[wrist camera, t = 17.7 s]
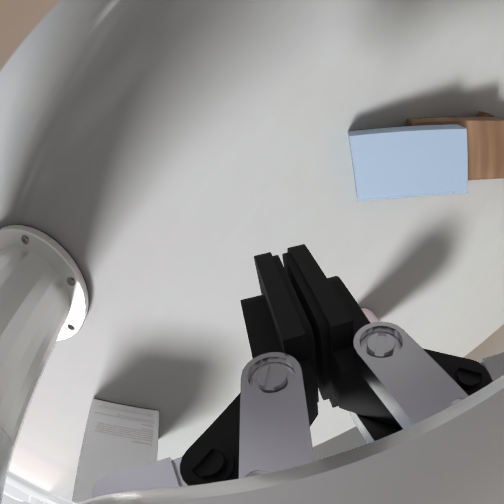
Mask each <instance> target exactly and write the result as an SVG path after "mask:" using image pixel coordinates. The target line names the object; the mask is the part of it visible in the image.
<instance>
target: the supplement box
mask: <svg viewBox="0 0 504 504" xmlns="http://www.w3.org/2000/svg"><path fill="white" fill-rule="evenodd" d="M158 430H159V411H156V410H149V409H143V408H137V407H131V406H126V405H121V404H116V403H111V402H106V401H101V400H97V399H92V403H91V407H90V412H89V416H88V420H87V424H86V429H85V433H84V438H83V443H82V448H81V453H80V458H79V463H78V469H77V475H76V480H75V486H74V493H73V499H72V501H73V503H74V504H78V503H81V502H83V501H86V500H89V499H92V490H93V487H94V485H95V483H96V482H97V481H98V480H99V479H100V478H101V477H102V476H105V475H107V474H110V473H114V472H119V471H123V470H127V469H131V468H135V467H138V466H142V465H146V464H149V463H153V462H156V461H157V451H158Z"/></svg>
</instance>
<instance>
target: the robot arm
mask: <svg viewBox="0 0 504 504" xmlns="http://www.w3.org/2000/svg"><path fill="white" fill-rule="evenodd" d="M254 260H255V265H256V269H257V274H258V279H259V284H260V289H261V293H262V295H260V296H256V297H252V298H248V299H244V300H241V305H242V310H243V315H244V319H245V324H246V329H247V333H248V338H249V343H250V347H251V352H252V356H253V359H252V360H251V361H250V362H248V363H247V364H246V366H245V367H244V369H243V371H242V375H241V393H240V394H239V395H238V396H237V397H236V398H235V399H234V400H233V402H232V403H231V404H230V405H229V406H228V407H227V408H226V409H225V410H224V412H223V413H222V414H221V415H220V416H219V417H218V418H217V419H216V420H215V421H214V422H213V424H212V425H211V426H210V427H209V428H208V429H207V430H206V431H205V432H204V433H203V434H202V435H201V436H200V437H199V438H198V439H197V440H196V441H195V442H194V444H193V445H192V446H191V447H190V448H189V449H188V450H187V451H186V452H185V454H184V455H183V457H180V458H177V459H174V460H172V459H171V458H170V457H169V458H166V459H163V460H160V461H156V462H153V463H149V464H146V465H142V466H138V467H135V468H131V469H127V470H123V471H119V472H114V473H110V474H107V475H105V476H102V477H101V478H100V479H99V480H98V481H97V482H96V483H95V485H94V487H93V490H92V499H89V500H86V501H83V502H81V503H78V504H504V352H503V353H500V354H497V355H494V356H490V357H487V358H484V359H482V361H481V363H479V362H476V361H474V360H470V359H466V358H462V357H457V356H453V355H448V354H444V353H440V352H435V351H431V350H427V349H423V348H421V347H420V346H419V345H418V344H417V343H416V342H415V341H414V340H413V339H412V338H411V337H410V336H409V335H408V334H407V333H406V332H405V331H404V330H403V329H402V328H400V327H399V326H397V325H395V324H392V323H389V322H373V323H370V321H369V320H368V318H367V317H366V315H365V314H364V312H363V311H362V309H361V308H360V307H359V305H358V304H357V302H356V301H355V299H354V298H353V296H352V295H351V293H350V292H349V291H348V289H347V288H346V286H345V285H344V283H343V282H342V281H341V279H340V278H339V277H338V276H335V277H331V278H326V276H325V275H324V273H323V271H322V270H321V268H320V267H319V265H318V264H317V262H316V261H315V259H314V258H313V256H312V255H311V253H310V252H309V250H308V249H307V247H306V246H305V245H304V244H303V245H299V246H295V247H290V248H288V253H284V254H283V263H284V267H283V265H282V262H281V260H280V258H279V256H278V255H276V256H272V254H271V252H269V253H265V254H261V255H257V256H254ZM88 306H89V300H88V291H87V287H86V283H85V281H84V278H83V276H82V274H81V271H80V270H79V268H78V267H77V265H76V263H75V262H74V260H73V259H72V258H71V256H70V255H69V254H68V253H67V252H66V250H65V249H64V248H63V247H62V246H60V245H59V244H58V243H57V242H56V241H55V240H54V239H52V238H51V237H49V236H48V235H46V234H45V233H43V232H41V231H39V230H36V229H34V228H31V227H27V226H23V225H10V226H6V227H3V228H1V229H0V504H1V502H2V495H3V490H4V485H5V481H6V477H7V473H8V469H9V465H10V462H11V458H12V455H13V452H14V449H15V446H16V443H17V440H18V437H19V434H20V431H21V428H22V425H23V422H24V419H25V416H26V414H27V411H28V408H29V406H30V403H31V400H32V398H33V395H34V393H35V390H36V388H37V385H38V383H39V380H40V378H41V376H42V373H43V371H44V369H45V366H46V364H47V362H48V359H49V357H50V355H51V353H52V350H53V348H54V346H55V344H56V342H57V341H59V340H63V339H67V338H69V337H71V336H73V335H74V334H75V333H76V332H77V331H78V330H79V329H80V328H81V326H82V324H83V323H84V320H85V318H86V315H87V312H88ZM318 388H319V391H320V393H321V396H322V398H323V400H326V399H329V400H330V402H331V404H332V407H336V406H339V408H342V409H345V410H347V411H349V414H350V416H351V418H352V420H353V421H354V423H355V424H356V426H357V427H358V429H359V430H360V432H361V433H362V435H363V436H364V438H365V439H366V441H367V442H368V444H366V445H363V446H360V447H357V448H355V449H352V450H349V451H346V452H343V453H340V454H337V455H334V456H331V457H327V458H324V459H321V460H317V461H314V456H313V448H312V441H311V433H310V426H311V424H312V423H313V421H314V420H315V418H316V417H317V415H318V405H317V402H319V397H318Z"/></svg>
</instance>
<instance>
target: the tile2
mask: <svg viewBox="0 0 504 504" xmlns="http://www.w3.org/2000/svg"><path fill="white" fill-rule="evenodd" d="M407 121H408V126H421V125H445V124H458V125H460V126H462V127H464V128H466V129H467V152H468V180H480V179H497V178H504V119H501V118H499V117H438V118H417V119H407Z"/></svg>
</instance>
